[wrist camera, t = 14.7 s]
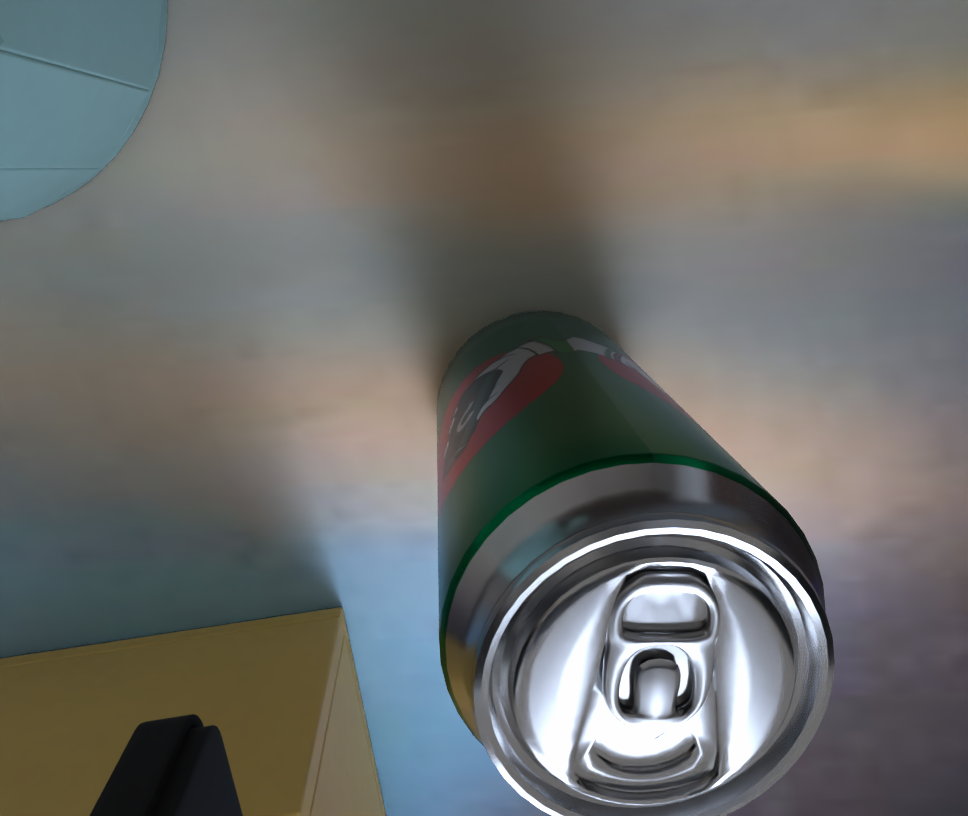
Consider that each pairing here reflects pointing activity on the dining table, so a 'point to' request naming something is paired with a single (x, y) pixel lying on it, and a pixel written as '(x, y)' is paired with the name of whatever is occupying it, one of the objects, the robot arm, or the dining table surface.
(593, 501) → the soda can
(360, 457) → the dining table surface
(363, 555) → the dining table surface
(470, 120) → the dining table surface
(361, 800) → the bin
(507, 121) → the dining table surface
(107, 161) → the pot
